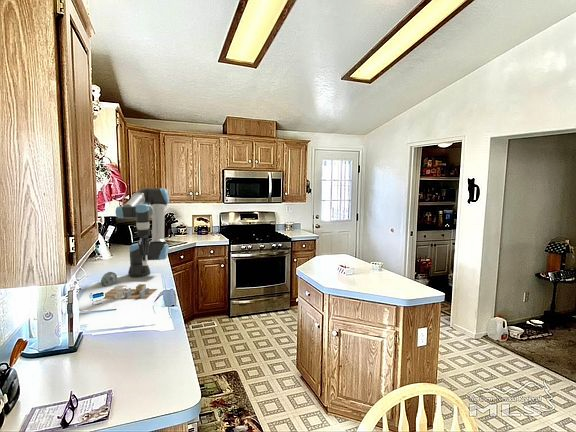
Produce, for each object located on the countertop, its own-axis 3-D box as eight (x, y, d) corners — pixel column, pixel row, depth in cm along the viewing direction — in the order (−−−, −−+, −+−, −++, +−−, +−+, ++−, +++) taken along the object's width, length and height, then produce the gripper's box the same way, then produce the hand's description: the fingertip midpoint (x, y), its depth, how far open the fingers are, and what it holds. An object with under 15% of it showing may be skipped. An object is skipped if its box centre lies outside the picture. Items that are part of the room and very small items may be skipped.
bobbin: (117, 294, 212) (117, 285, 211) (129, 294, 212) (128, 285, 211) (112, 299, 205) (111, 289, 204) (123, 299, 205) (123, 289, 204)
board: (112, 290, 223) (112, 288, 223) (157, 290, 223) (157, 288, 223) (96, 300, 205) (96, 298, 205) (146, 300, 205) (146, 299, 205)
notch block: (129, 293, 214) (129, 287, 214) (149, 293, 214) (149, 287, 214) (123, 298, 206) (122, 292, 206) (143, 298, 206) (143, 292, 206)
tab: (139, 290, 220) (139, 284, 219) (146, 290, 220) (145, 284, 219) (136, 293, 215) (135, 286, 214) (142, 293, 215) (142, 286, 214)
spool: (115, 282, 228) (108, 269, 229) (102, 290, 227) (94, 276, 227) (122, 281, 242) (116, 268, 242) (109, 288, 240) (102, 275, 241)
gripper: (141, 227, 227) (143, 262, 230) (132, 230, 214) (134, 268, 217) (153, 227, 227) (154, 262, 230) (144, 230, 214) (146, 268, 217)
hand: (145, 265), depth 223 cm, fingers closed
